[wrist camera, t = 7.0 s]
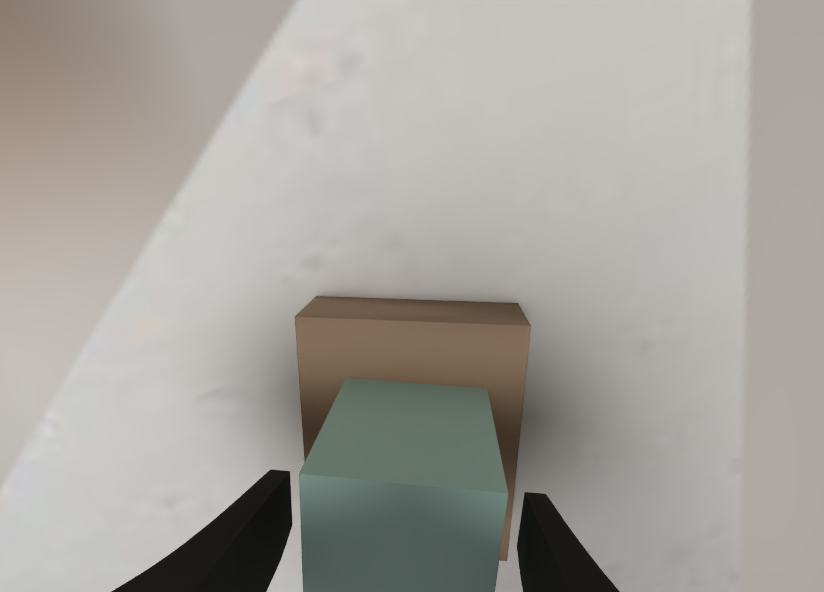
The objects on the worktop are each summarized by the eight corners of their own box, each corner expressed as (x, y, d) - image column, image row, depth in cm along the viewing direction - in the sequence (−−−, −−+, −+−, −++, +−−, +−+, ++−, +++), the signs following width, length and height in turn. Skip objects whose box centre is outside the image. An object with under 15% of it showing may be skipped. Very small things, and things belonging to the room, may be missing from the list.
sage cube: (474, 505, 16) (487, 647, 11) (345, 492, 16) (304, 625, 11) (486, 388, 15) (508, 493, 10) (346, 377, 15) (298, 474, 10)
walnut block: (497, 503, 19) (507, 561, 17) (329, 492, 20) (310, 546, 17) (515, 299, 17) (530, 325, 14) (319, 292, 17) (294, 316, 14)
